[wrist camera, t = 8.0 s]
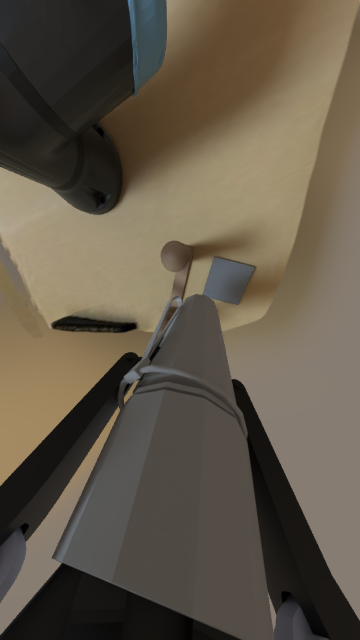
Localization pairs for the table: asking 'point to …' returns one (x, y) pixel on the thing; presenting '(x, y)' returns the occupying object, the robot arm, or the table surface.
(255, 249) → the table surface
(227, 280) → the pad
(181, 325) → the water bottle
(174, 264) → the gate
